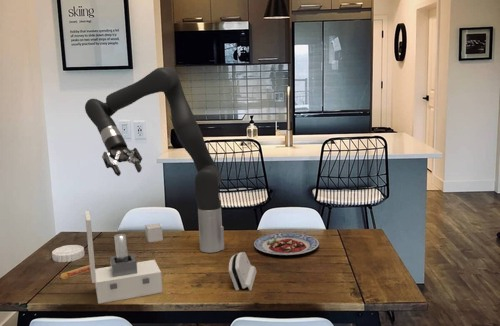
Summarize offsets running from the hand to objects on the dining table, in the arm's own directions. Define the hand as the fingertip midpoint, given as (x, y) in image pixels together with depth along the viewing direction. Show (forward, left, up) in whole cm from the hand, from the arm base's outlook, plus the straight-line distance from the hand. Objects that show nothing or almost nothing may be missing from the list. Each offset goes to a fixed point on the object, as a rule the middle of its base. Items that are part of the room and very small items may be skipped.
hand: (129, 172), depth 189 cm
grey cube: (-11, -20, -34) cm, 41 cm away
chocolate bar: (+22, +7, -34) cm, 41 cm away
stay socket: (+7, +30, -27) cm, 41 cm away
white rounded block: (-31, +37, -34) cm, 59 cm away
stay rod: (+8, +30, -27) cm, 40 cm away
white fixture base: (+6, +30, -34) cm, 45 cm away
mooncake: (+24, -13, -34) cm, 44 cm away
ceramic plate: (-58, +14, -34) cm, 68 cm away
